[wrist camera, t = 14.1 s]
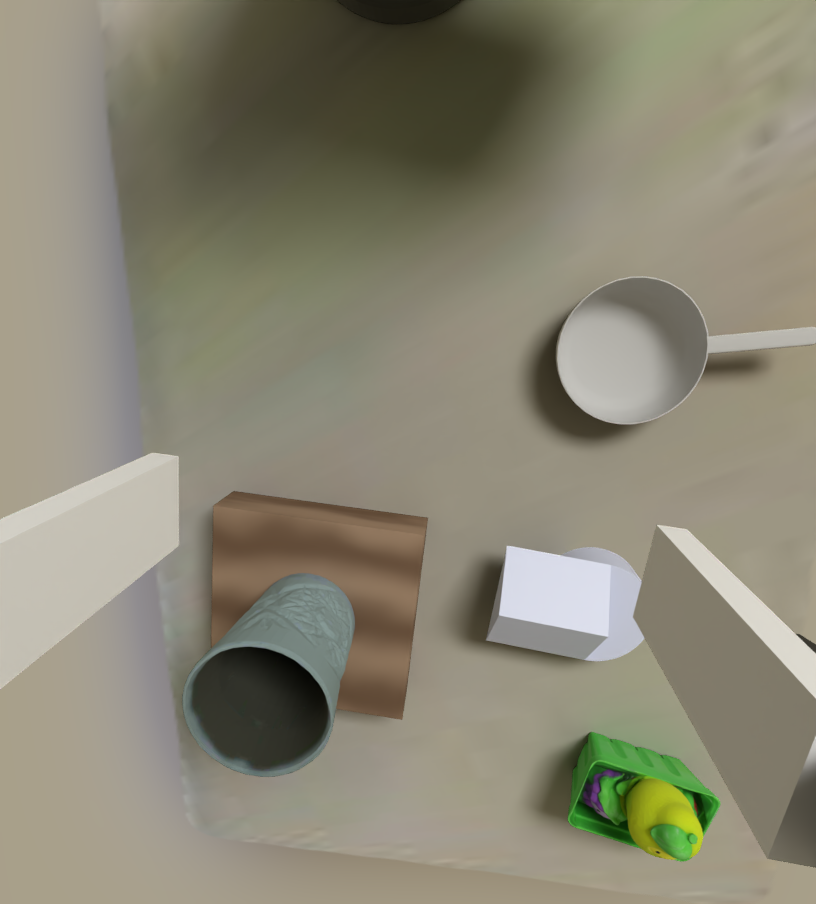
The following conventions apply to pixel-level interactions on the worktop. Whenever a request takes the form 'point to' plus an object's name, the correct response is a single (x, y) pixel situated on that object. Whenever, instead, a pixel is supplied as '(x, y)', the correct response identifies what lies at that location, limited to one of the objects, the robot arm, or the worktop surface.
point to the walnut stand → (340, 561)
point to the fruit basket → (640, 799)
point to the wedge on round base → (567, 603)
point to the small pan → (645, 349)
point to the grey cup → (273, 679)
